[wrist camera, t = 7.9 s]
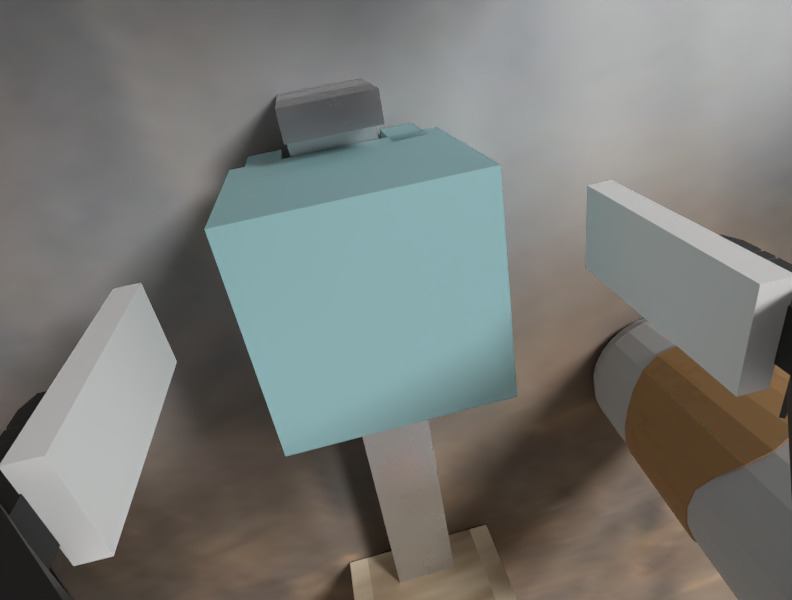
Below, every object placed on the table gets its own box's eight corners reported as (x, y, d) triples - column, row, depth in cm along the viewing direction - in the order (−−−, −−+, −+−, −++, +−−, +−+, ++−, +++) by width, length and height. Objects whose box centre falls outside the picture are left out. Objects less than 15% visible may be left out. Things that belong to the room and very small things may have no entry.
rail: (276, 95, 18) (274, 108, 15) (360, 78, 19) (378, 88, 15) (397, 567, 30) (412, 636, 27) (447, 553, 31) (468, 619, 27)
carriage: (233, 159, 19) (204, 229, 12) (424, 120, 19) (500, 165, 12) (285, 326, 22) (285, 456, 15) (447, 288, 23) (516, 396, 16)
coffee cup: (611, 453, 30) (874, 787, 16) (541, 364, 26) (807, 705, 13) (741, 365, 28) (1135, 648, 15) (686, 257, 25) (1149, 511, 11)
